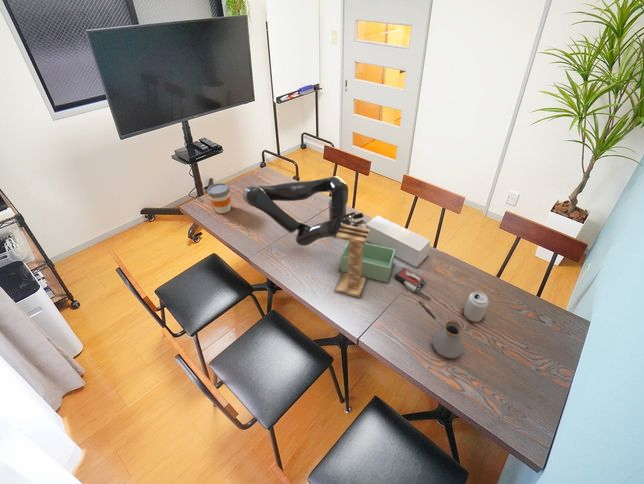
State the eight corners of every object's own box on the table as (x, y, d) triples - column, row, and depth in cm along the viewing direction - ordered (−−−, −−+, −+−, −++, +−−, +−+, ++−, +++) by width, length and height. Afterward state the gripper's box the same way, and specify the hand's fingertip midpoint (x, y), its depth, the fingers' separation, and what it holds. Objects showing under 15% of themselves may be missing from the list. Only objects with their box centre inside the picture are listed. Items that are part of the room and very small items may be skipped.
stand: (335, 291, 149) (334, 235, 130) (342, 274, 158) (343, 220, 138) (360, 297, 146) (364, 242, 127) (366, 280, 155) (371, 225, 135)
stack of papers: (427, 256, 168) (430, 240, 161) (416, 267, 161) (419, 251, 155) (376, 230, 185) (377, 215, 178) (364, 239, 178) (365, 224, 172)
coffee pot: (467, 347, 127) (477, 324, 118) (452, 368, 120) (461, 344, 111) (420, 315, 139) (425, 291, 130) (404, 332, 132) (409, 308, 123)
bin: (340, 270, 160) (340, 256, 154) (348, 253, 170) (349, 239, 164) (387, 282, 154) (389, 268, 148) (393, 263, 164) (395, 249, 158)
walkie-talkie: (391, 279, 155) (429, 302, 144) (392, 273, 152) (430, 296, 141) (401, 269, 160) (438, 291, 149) (402, 263, 158) (440, 284, 147)
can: (467, 305, 143) (474, 286, 136) (484, 314, 139) (492, 295, 132) (460, 316, 138) (467, 297, 131) (478, 326, 134) (486, 307, 127)
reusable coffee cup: (212, 205, 206) (206, 184, 197) (233, 202, 209) (228, 181, 200) (212, 216, 196) (206, 195, 187) (234, 212, 199) (229, 191, 190)
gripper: (321, 230, 148) (351, 222, 139) (332, 213, 159) (360, 204, 150) (329, 243, 151) (359, 236, 142) (339, 225, 162) (367, 217, 153)
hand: (360, 220), depth 146 cm, fingers open, 8 cm apart
